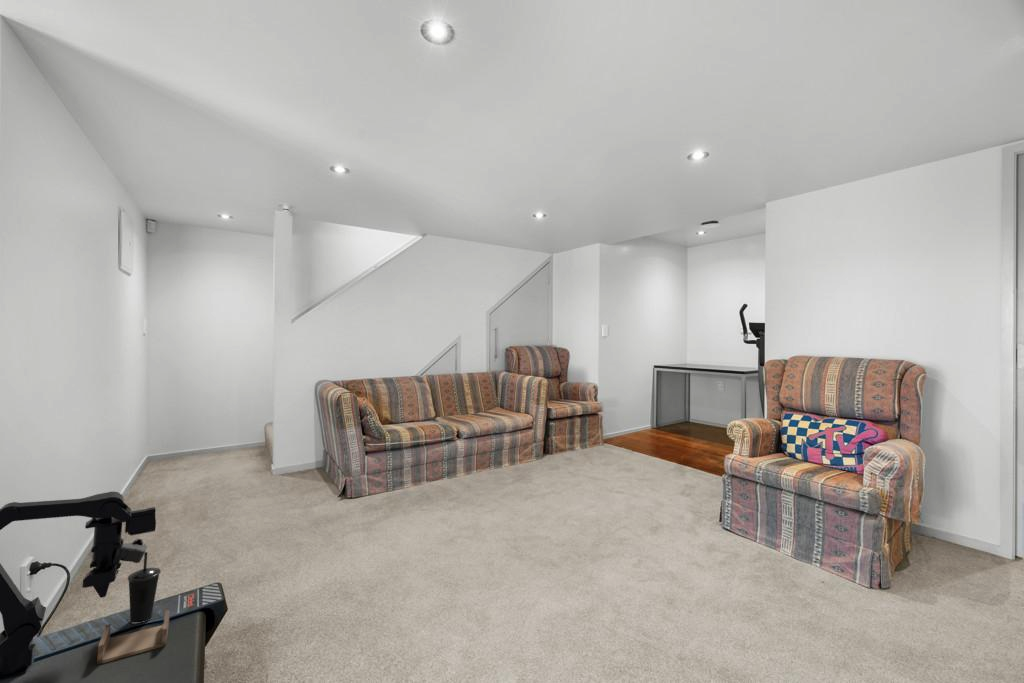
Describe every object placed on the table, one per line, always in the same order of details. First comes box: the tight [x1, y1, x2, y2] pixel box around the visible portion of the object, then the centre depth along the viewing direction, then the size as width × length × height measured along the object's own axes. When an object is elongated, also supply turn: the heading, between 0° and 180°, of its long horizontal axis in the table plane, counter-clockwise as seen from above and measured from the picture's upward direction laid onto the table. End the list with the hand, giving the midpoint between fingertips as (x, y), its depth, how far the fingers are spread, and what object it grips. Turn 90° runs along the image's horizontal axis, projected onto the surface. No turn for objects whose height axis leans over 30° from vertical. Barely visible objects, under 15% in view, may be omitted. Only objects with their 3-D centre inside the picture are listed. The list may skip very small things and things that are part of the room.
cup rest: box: [96, 609, 171, 665], centre depth 120 cm, size 14×10×5 cm
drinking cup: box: [127, 551, 161, 623], centre depth 131 cm, size 8×8×20 cm
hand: (103, 596), depth 120 cm, fingers closed
